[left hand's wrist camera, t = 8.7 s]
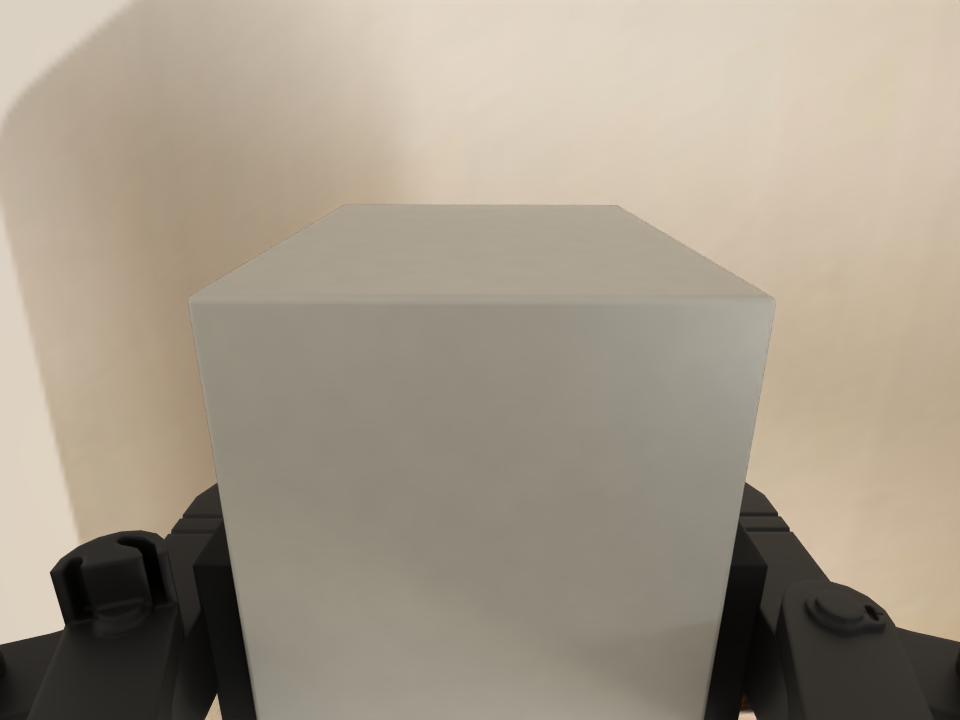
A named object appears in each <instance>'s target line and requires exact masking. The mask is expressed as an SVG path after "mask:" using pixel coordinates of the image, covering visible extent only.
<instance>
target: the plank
mask: <svg viewBox="0 0 960 720" xmlns="http://www.w3.org/2000/svg"><path fill="white" fill-rule="evenodd" d="M775 306H776V305H775V300H774V297H772V296H770V295H769V294H767V293H765V292H764V291H762V290H760V289H758V288H757V287H755V286H753V285H752V284H750V283H748V282H747V281H745V280H743V279H742V278H740V277H738V276H736V275H735V274H733V273H731V272H730V271H728V270H726V269H725V268H723V267H721V266H719V265H718V264H716V263H714V262H713V261H711V260H709V259H708V258H706V257H704V256H703V255H701V254H699V253H697V252H696V251H694V250H692V249H691V248H689V247H687V246H686V245H684V244H682V243H681V242H679V241H677V240H675V239H674V238H672V237H670V236H669V235H667V234H665V233H664V232H662V231H660V230H659V229H657V228H655V227H653V226H652V225H650V224H648V223H647V222H645V221H643V220H642V219H640V218H638V217H636V216H635V215H633V214H631V213H630V212H628V211H626V210H625V209H623V208H621V207H620V206H617V205H348V204H345V205H343V206H341V207H339V208H338V209H336V210H334V211H333V212H331V213H329V214H327V215H326V216H324V217H322V218H321V219H319V220H317V221H316V222H314V223H312V224H311V225H309V226H307V227H306V228H304V229H302V230H300V231H299V232H297V233H295V234H294V235H292V236H290V237H289V238H287V239H285V240H284V241H282V242H280V243H279V244H277V245H275V246H273V247H272V248H270V249H268V250H267V251H265V252H263V253H262V254H260V255H258V256H257V257H255V258H253V259H252V260H250V261H248V262H246V263H245V264H243V265H241V266H240V267H238V268H236V269H235V270H233V271H231V272H230V273H228V274H226V275H225V276H223V277H221V278H220V279H218V280H216V281H214V282H213V283H211V284H209V285H208V286H206V287H204V288H203V289H201V290H199V291H198V292H196V293H194V294H193V295H191V296H190V297H189V301H188V307H189V313H190V319H191V325H192V331H193V337H194V343H195V349H196V355H197V361H198V367H199V373H200V379H201V386H202V392H203V398H204V404H205V410H206V416H207V422H208V428H209V434H210V440H211V446H212V452H213V458H214V464H215V470H216V476H217V482H218V488H219V494H220V500H221V506H222V512H223V518H224V524H225V530H226V536H227V542H228V548H229V554H230V560H231V566H232V572H233V578H234V584H235V590H236V596H237V603H238V609H239V615H240V621H241V627H242V633H243V639H244V645H245V651H246V657H247V663H248V669H249V675H250V681H251V687H252V693H253V699H254V705H255V711H256V717H257V720H704V715H705V710H706V704H707V698H708V692H709V687H710V681H711V675H712V669H713V664H714V658H715V652H716V646H717V640H718V635H719V629H720V623H721V617H722V612H723V606H724V600H725V594H726V589H727V583H728V577H729V571H730V565H731V560H732V554H733V548H734V542H735V537H736V531H737V525H738V519H739V514H740V508H741V502H742V496H743V490H744V485H745V479H746V473H747V467H748V462H749V456H750V450H751V444H752V439H753V433H754V427H755V421H756V415H757V410H758V404H759V398H760V392H761V387H762V381H763V375H764V369H765V364H766V358H767V352H768V346H769V340H770V335H771V329H772V323H773V317H774V312H775Z"/></svg>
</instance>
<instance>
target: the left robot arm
mask: <svg viewBox="0 0 960 720" xmlns="http://www.w3.org/2000/svg"><path fill="white" fill-rule="evenodd" d="M50 575H51V578H52V582H53V585H54V588H55V592H56V595H57V599H58V602H59V605H60V609H61V612H62V616H63V619H64V622H65V627H64V630H61V631H58V632H54V633H51V634H47V635H42V636H37V637H33V638H29V639H24V640H20V641H15V642H11V643H6V644H2V645H0V720H205V718H206V716H207V714H208V712H209V709H210V707H211V705H212V703H213V701H214V699H215V696H216V694H218V700H219V705H220V710H221V715H222V720H257V717H256V711H255V705H254V699H253V693H252V687H251V681H250V675H249V669H248V663H247V657H246V651H245V645H244V639H243V633H242V627H241V621H240V615H239V609H238V603H237V596H236V590H235V584H234V578H233V572H232V566H231V560H230V554H229V548H228V542H227V536H226V530H225V524H224V518H223V512H222V506H221V500H220V494H219V488H218V483H216V484H215V485H213V486H212V487H210V488H209V489H207V490H206V491H205V492H203V493H202V494H200V495H199V496H197V497H196V498H195V500H194V501H193V502H192V504H191V505H190V506H189V508H188V509H187V510H186V512H185V513H184V514H183V518H182V519H179V521H178V522H177V523H176V525H175V526H174V527H173V529H172V530H171V534H168V535H167V537H166V538H165V539H163V538H162V537H160V536H159V535H158V534H156V533H151V532H147V531H142V530H139V531H122V532H117V533H114V534H110V535H106V536H102V537H98V538H96V539H94V540H92V541H89V542H87V543H85V544H83V545H81V546H78V547H77V548H75V549H74V550H73V551H71V552H70V553H68V554H67V555H66V556H64V557H63V558H61V559H60V560H59V562H58V563H57V564H56V565H55V567H54V568H53V569H52V570H51V571H50ZM743 692H745V694H746V697H747V699H748V701H749V703H750V705H751V707H752V710H753V712H754V714H755V716H756V718H757V719H756V720H960V642H957V641H953V640H948V639H944V638H939V637H935V636H930V635H926V634H921V633H917V632H912V631H909V630H905V629H902V628H898V627H896V626H895V624H894V623H893V621H892V620H891V618H890V617H889V615H888V614H887V613H886V611H885V610H884V609H883V608H882V607H880V606H879V605H878V604H877V603H875V602H874V601H873V600H872V599H870V598H869V597H868V596H866V595H864V594H862V593H860V592H858V591H856V590H854V589H852V588H850V587H848V586H844V585H841V584H837V583H834V582H830V580H829V579H828V578H827V576H826V575H825V574H824V572H823V571H822V570H821V569H820V567H819V566H818V565H817V563H816V562H815V561H814V559H813V558H812V557H811V555H810V554H809V553H808V552H807V550H806V549H805V548H804V546H803V545H802V544H801V542H800V541H799V540H798V538H797V537H796V536H795V535H794V533H793V532H790V530H789V527H788V525H787V524H786V523H785V521H784V520H783V519H782V518H781V517H778V512H777V511H776V510H775V508H774V507H773V506H772V504H771V503H770V502H769V500H768V499H767V498H766V497H765V495H764V494H762V493H761V492H759V491H758V490H756V489H755V488H753V487H752V486H750V485H749V484H747V483H746V482H745V485H744V490H743V496H742V502H741V508H740V514H739V519H738V525H737V531H736V537H735V542H734V548H733V554H732V560H731V565H730V571H729V577H728V583H727V589H726V594H725V600H724V606H723V612H722V617H721V623H720V629H719V635H718V640H717V646H716V652H715V658H714V664H713V669H712V675H711V681H710V687H709V692H708V698H707V704H706V710H705V715H704V720H738V717H739V712H740V707H741V702H742V697H743Z"/></svg>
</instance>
